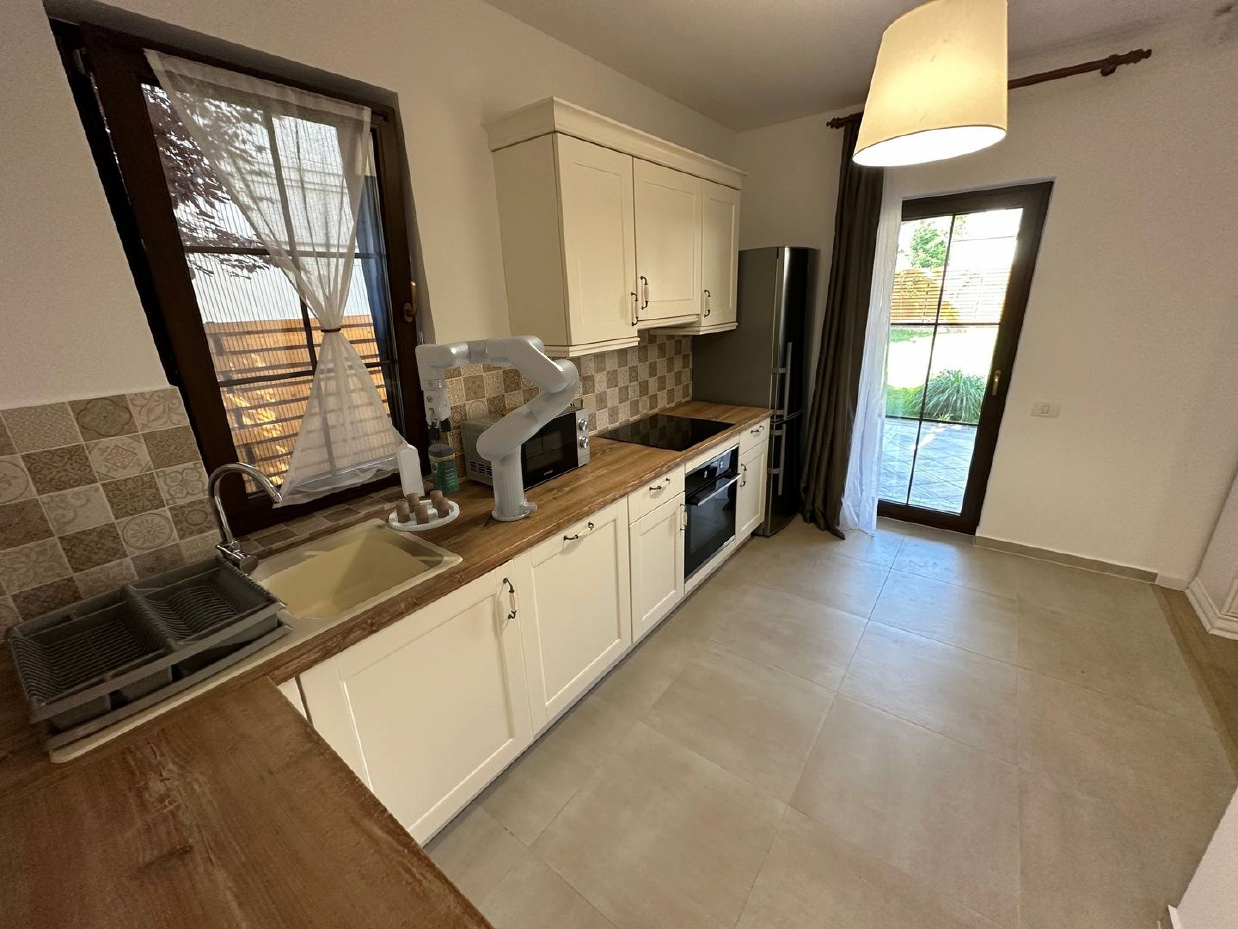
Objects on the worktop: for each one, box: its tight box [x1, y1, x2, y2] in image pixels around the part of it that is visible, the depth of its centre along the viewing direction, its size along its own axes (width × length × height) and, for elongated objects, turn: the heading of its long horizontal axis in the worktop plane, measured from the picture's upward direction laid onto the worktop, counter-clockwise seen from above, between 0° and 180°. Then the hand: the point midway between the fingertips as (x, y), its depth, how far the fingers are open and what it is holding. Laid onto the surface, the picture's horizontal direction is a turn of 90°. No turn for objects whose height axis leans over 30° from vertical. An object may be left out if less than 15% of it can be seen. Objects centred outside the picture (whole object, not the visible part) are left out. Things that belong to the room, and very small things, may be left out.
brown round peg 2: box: [414, 505, 429, 525], centre depth 155 cm, size 4×4×6 cm
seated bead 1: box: [405, 493, 420, 513], centre depth 165 cm, size 4×4×6 cm
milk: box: [395, 438, 425, 498], centre depth 176 cm, size 6×6×22 cm
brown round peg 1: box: [394, 501, 411, 523], centre depth 158 cm, size 4×4×6 cm
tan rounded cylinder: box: [435, 496, 450, 518], centre depth 161 cm, size 4×4×6 cm
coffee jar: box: [428, 443, 460, 495], centre depth 182 cm, size 10×8×19 cm
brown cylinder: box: [429, 490, 444, 510], centre depth 167 cm, size 4×4×6 cm
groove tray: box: [388, 499, 460, 532], centre depth 162 cm, size 22×22×2 cm
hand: (441, 435), depth 160 cm, fingers open, 9 cm apart
